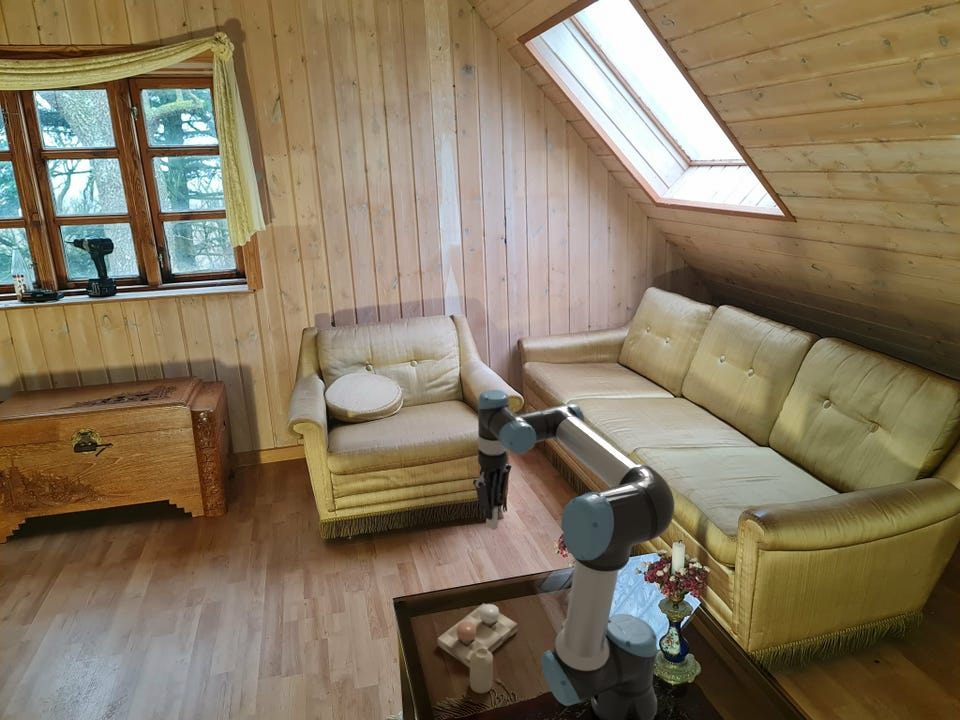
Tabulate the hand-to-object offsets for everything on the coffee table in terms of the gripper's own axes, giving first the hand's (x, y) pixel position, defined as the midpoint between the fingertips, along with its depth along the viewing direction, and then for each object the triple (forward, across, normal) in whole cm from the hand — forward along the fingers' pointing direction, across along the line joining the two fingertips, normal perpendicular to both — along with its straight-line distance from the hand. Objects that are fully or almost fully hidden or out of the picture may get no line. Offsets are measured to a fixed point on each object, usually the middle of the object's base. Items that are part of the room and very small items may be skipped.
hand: (491, 526), depth 190 cm
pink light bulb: (+25, +16, +5) cm, 30 cm away
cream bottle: (+26, +23, +16) cm, 38 cm away
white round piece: (+25, +7, +6) cm, 26 cm away
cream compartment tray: (+26, +12, +6) cm, 29 cm away
